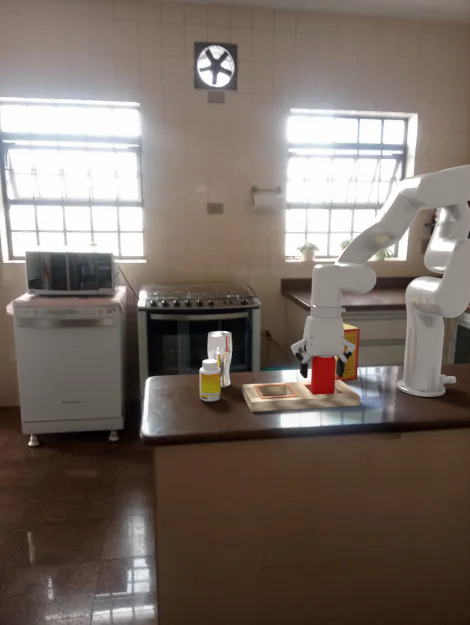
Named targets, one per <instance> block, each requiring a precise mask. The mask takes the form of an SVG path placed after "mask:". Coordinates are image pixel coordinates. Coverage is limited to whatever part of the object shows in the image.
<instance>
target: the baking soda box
mask: <svg viewBox="0 0 470 625" xmlns="http://www.w3.org/2000/svg"><path fill="white" fill-rule="evenodd" d="M343 326H344V339H345V340H347V341H349V342H350V343H352V344H354V345H355V346H356V348H355V349H354V351H353V352H352V355H351V356H350V357H349V358H348V359H347V362H345V370H344V373H343V377H339V376H338V375H337V374H336V372H335V380H341V381H342V382H350V381H357V380H358V369H359V368H358V367H359V350H360V334H361V333H360V331H361V330H360V328H359V327H356V326H353V325H351V324H347V323H344V322H343ZM347 349H348V346H346V345H344V352H345V351H347ZM344 352H343V353H344ZM334 357H335V359H336V363H337V360H338V357H337V356H334Z"/></svg>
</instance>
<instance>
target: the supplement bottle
mask: <svg viewBox="0 0 470 625" xmlns="http://www.w3.org/2000/svg"><path fill="white" fill-rule="evenodd" d="M198 371H199V374H198V376H199V399H200V400H202V401H203V402H209V403H210V402H216V401H218V400H220V399H221V392H222V390H221V389H222V387H221V370H220V368H219V367H218V361H217V360H214V359H209V358H207V359H204V360H202V367H200V369H199V370H198Z"/></svg>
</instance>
